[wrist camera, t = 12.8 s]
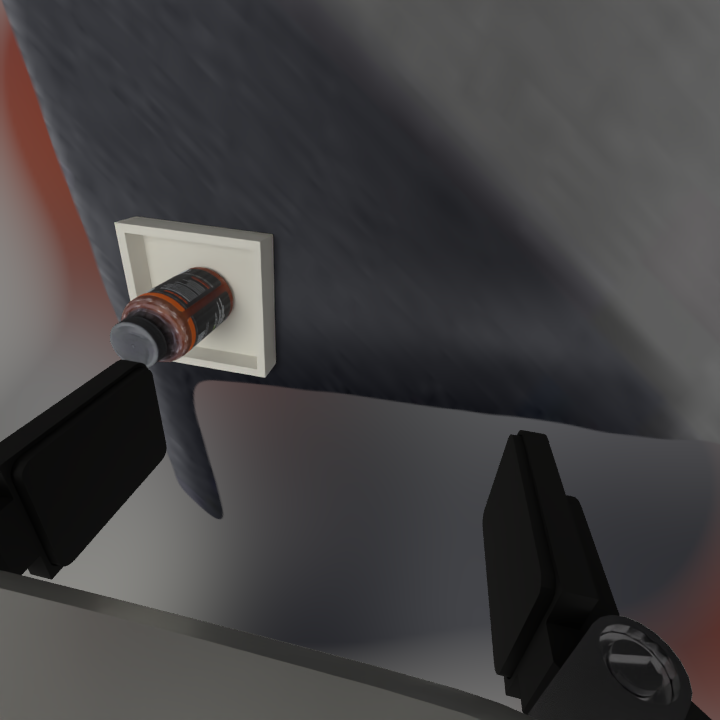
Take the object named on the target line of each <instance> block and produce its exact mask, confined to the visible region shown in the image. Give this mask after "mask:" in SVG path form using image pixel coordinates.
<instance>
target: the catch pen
mask: <svg viewBox="0 0 720 720" xmlns="http://www.w3.org/2000/svg"><path fill="white" fill-rule="evenodd" d="M114 223H115V228H116V233H117V238H118V243H119V248H120V252H121V257H122V262H123V267H124V272H125V277H126V282H127V286H128V291H129V296H130V301H132V300H133V299H135V298H136V297H138V296H140V295H142V294H143V293H145V292H147V291H149V290H151V289H152V288H154V287H156V286H158V285H159V284H161V283H163V282H165V281H167V280H169V279H170V278H172V277H174V276H176V275H178V274H180V273H181V272H183V271H185V270H188V269H190V268H194V267H202V268H207V269H210V270H212V271H214V272H216V273H217V274H218V275H220V276H221V277H222V278H223V279H224V280H225V281H226V283H227V284H228V286H229V288H230V290H231V293H232V296H233V308H232V311H231V313H230V315H229V316H228V317H227V319H226V320H225V321H223V322H222V323H221V324H220V325H219V326H218V327H217V328H215V329H214V330H213V331H212V332H211V333H210V334H209V335H207V336H206V337H205V338H204V339H203V340H202V341H200V342H199V343H198V344H197V345H196V346H195V347H194V348H192V349H191V350H190V351H189V352H188V353H186V354H185V355H184V356H182V357H181V358H179V359H177V360H175V361H174V362H179V363H185V364H191V365H196V366H202V367H208V368H214V369H219V370H225V371H231V372H236V373H242V374H248V375H253V376H259V377H266V376H267V375H268V373H269V372H270V371H271V369H272V368H273V367H274V365H275V364H276V343H275V298H274V254H273V234H267V233H260V232H252V231H244V230H237V229H229V228H221V227H214V226H206V225H198V224H191V223H183V222H175V221H168V220H160V219H152V218H145V217H137V216H136V217H132V218H129V219H125V220H121V221H118V222H114Z"/></svg>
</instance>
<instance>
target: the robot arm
mask: <svg viewBox="0 0 720 720" xmlns="http://www.w3.org/2000/svg"><path fill="white" fill-rule="evenodd" d="M166 448H167V447H166V441H165V436H164V431H163V426H162V420H161V415H160V410H159V405H158V400H157V395H156V390H155V385H154V380H153V375H152V372H151V371H150V370H148V368H147V366H146V365H145V364H143V363H140V362H134V361H129V360H119V361H117V362H115V363H114V364H112V365H111V366H110V367H109V368H107V369H105V370H104V371H102V372H101V373H100V374H98V375H97V376H95V377H94V378H92V379H91V380H90V381H88V382H86V383H85V384H84V385H82V386H81V387H79V388H78V389H76V390H75V391H73V392H72V393H71V394H69V395H68V396H66V397H65V398H63V399H62V400H61V401H59V402H58V403H56V404H55V405H53V406H52V407H50V408H49V409H48V410H46V411H45V412H43V413H42V414H40V415H39V416H37V417H36V418H34V419H33V420H32V421H30V422H29V423H27V424H26V425H25V426H23V427H21V428H20V429H19V430H17V431H16V432H14V433H13V434H11V435H10V436H8V437H7V438H6V439H4V440H3V441H1V442H0V720H711V719H710V718H709V717H708V716H707V715H706V714H705V713H704V712H702V710H700V709H699V708H698V707H697V706H696V705H695V704H694V703H693V702H692V701H691V698H692V689H691V685H690V680H689V677H688V675H687V673H686V671H685V669H684V667H683V665H682V663H681V661H680V660H679V658H678V657H677V656H676V654H675V653H674V652H673V650H672V649H671V648H670V647H669V645H668V644H666V643H665V642H664V641H663V640H662V639H661V638H660V637H659V636H658V635H657V634H656V633H655V632H653V631H651V630H650V629H648V628H647V627H645V626H644V625H642V624H640V623H639V622H637V621H634V620H631V619H629V618H627V617H623V616H619V612H618V610H617V607H616V604H615V601H614V598H613V596H612V592H611V590H610V587H609V584H608V581H607V578H606V575H605V573H604V570H603V567H602V564H601V561H600V559H599V555H598V553H597V550H596V547H595V544H594V541H593V539H592V536H591V533H590V530H589V527H588V524H587V521H586V518H585V516H584V513H583V510H582V507H581V505H580V503H579V501H578V500H577V499H576V498H575V497H572V496H566V495H565V491H564V488H563V485H562V482H561V479H560V476H559V473H558V469H557V466H556V463H555V460H554V457H553V454H552V450H551V448H550V444H549V441H548V438H547V436H546V435H545V434H541V433H535V432H529V431H523V430H520V431H519V432H518V434H517V435H510V436H509V438H508V441H507V444H506V447H505V450H504V453H503V456H502V459H501V462H500V465H499V468H498V471H497V474H496V477H495V480H494V483H493V486H492V489H491V492H490V495H489V498H488V501H487V504H486V507H485V510H484V514H483V536H484V548H485V560H486V572H487V583H488V596H489V608H490V620H491V631H492V643H493V656H494V666H495V671H496V673H497V674H498V675H502V676H504V682H505V692H506V695H507V696H511V697H515V698H519V699H521V704H522V711H523V713H521V712H519V711H517V710H514V709H512V708H510V707H507V706H505V705H503V704H500V703H497V702H494V701H491V700H488V699H485V698H482V697H480V696H477V695H473V694H470V693H467V692H464V691H462V690H459V689H455V688H452V687H448V686H445V685H441V684H438V683H434V682H430V681H427V680H424V679H420V678H416V677H413V676H409V675H406V674H402V673H398V672H395V671H391V670H388V669H384V668H380V667H377V666H374V665H370V664H366V663H362V662H358V661H355V660H351V659H346V658H343V657H339V656H336V655H332V654H328V653H324V652H320V651H316V650H312V649H309V648H305V647H301V646H297V645H293V644H289V643H286V642H282V641H278V640H274V639H271V638H267V637H263V636H259V635H255V634H251V633H247V632H244V631H240V630H236V629H232V628H228V627H224V626H220V625H216V624H212V623H208V622H205V621H201V620H197V619H193V618H189V617H185V616H181V615H177V614H173V613H169V612H165V611H161V610H158V609H154V608H149V607H146V606H142V605H138V604H134V603H130V602H126V601H122V600H118V599H114V598H110V597H106V596H102V595H98V594H94V593H90V592H86V591H82V590H78V589H74V588H70V587H66V586H62V585H58V584H54V583H50V582H46V581H42V580H38V579H34V578H30V577H26V576H22V574H23V573H24V572H25V571H26V570H27V569H28V570H29V572H30V574H32V575H36V576H40V577H44V578H48V579H53V578H54V576H55V575H56V574H57V573H58V572H59V571H60V570H61V569H62V568H63V566H67V565H69V564H71V563H72V562H73V561H74V560H75V559H76V558H77V557H78V555H79V554H80V553H81V552H82V551H83V550H84V549H85V547H86V546H87V545H88V544H89V543H90V542H91V541H92V539H93V538H94V537H95V536H96V535H97V534H98V533H99V531H100V530H101V529H102V528H103V527H104V526H105V525H106V523H107V522H108V521H109V520H110V519H111V518H112V517H113V515H114V514H115V513H116V512H117V511H118V510H119V509H120V507H121V506H122V505H123V504H124V503H125V502H126V501H127V499H128V498H129V497H130V496H131V495H132V494H133V493H134V491H135V490H136V489H137V488H138V487H139V486H140V485H141V483H142V482H143V481H144V480H145V479H146V478H147V477H148V475H149V474H150V473H151V472H152V471H153V470H154V469H155V467H156V466H157V465H158V464H159V463H160V462H161V461H162V459H163V458H164V456H165V453H166Z"/></svg>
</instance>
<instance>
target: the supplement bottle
mask: <svg viewBox="0 0 720 720" xmlns="http://www.w3.org/2000/svg"><path fill="white" fill-rule="evenodd" d="M232 308H233V296H232V293H231V290H230V288H229V286H228V284H227V283H226V281H225V280H224V279H223V278H222V277H221V276H220V275H218V274H217V273H216V272H214V271H212V270H210V269H207V268H202V267H194V268H190V269H188V270H185V271H183V272H181V273H180V274H178V275H176V276H174V277H172V278H170V279H169V280H167V281H165V282H163V283H161V284H159V285H158V286H156V287H154V288H152V289H151V290H149V291H147V292H145V293H143V294H142V295H140V296H138V297H136V298H135V299H133V300H132V301H130V302H129V303H128V304H127V306H126V307H125V309H124V311H123V313H122V318H121V322H119V323H118V324H116V325H115V326H114V327H113V328H112V330H111V334H110V341H111V344H112V347H113V348H114V350H115V352H116V353H117V355H118V356H119V357H120V358H121V359H122V360H129V361H134V362H140V363H143V364H145V365H146V366H147V368H148V367H151V366H153V365H154V364H155V363H157V362H158V361H159V362H171V361H175V360H177V359H179V358H181V357H182V356H184V355H185V354H186V353H188V352H189V351H190V350H191V349H192V348H194V347H195V346H196V345H197V344H198V343H199V342H200V341H202V340H203V339H204V338H205V337H206V336H207V335H209V334H210V333H211V332H212V331H213V330H214V329H215V328H217V327H218V326H219V325H220V324H221V323H222V322H223V321H225V320H226V319H227V317H228V316H229V315H230V313H231V311H232Z"/></svg>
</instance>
